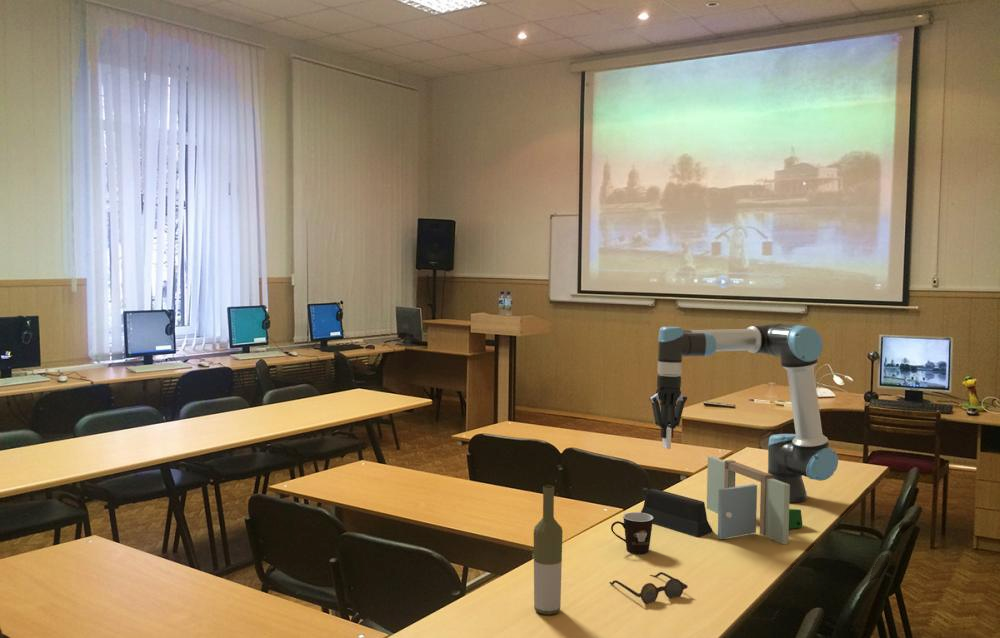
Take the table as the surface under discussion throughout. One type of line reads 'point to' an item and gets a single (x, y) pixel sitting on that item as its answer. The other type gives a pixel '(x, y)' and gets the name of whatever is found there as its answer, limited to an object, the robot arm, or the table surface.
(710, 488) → the door frame
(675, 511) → the barrier
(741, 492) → the door
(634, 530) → the coffee mug
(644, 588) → the eyeglasses
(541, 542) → the bottle
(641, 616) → the table surface
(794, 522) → the clamp
